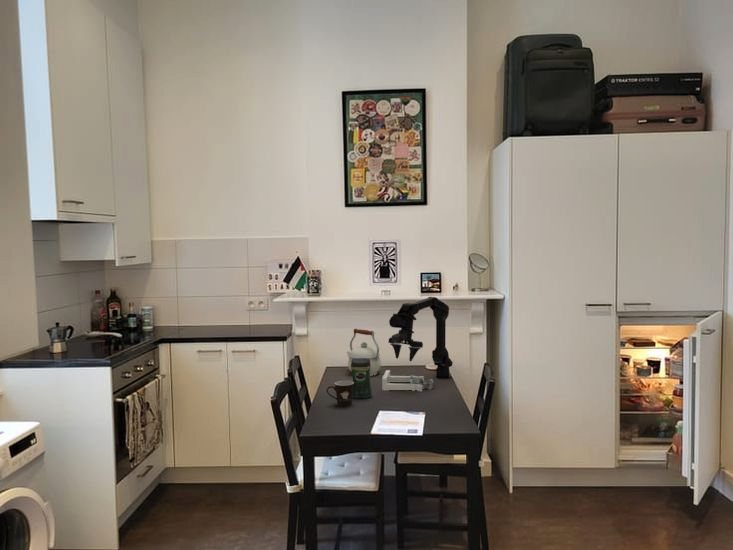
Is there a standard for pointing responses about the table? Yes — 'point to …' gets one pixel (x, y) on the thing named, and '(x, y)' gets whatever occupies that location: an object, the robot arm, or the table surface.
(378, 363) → the kettle
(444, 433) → the table surface
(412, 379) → the bar
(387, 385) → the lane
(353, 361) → the coffee jar
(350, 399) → the coffee mug
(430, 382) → the egg carton
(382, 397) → the table surface
